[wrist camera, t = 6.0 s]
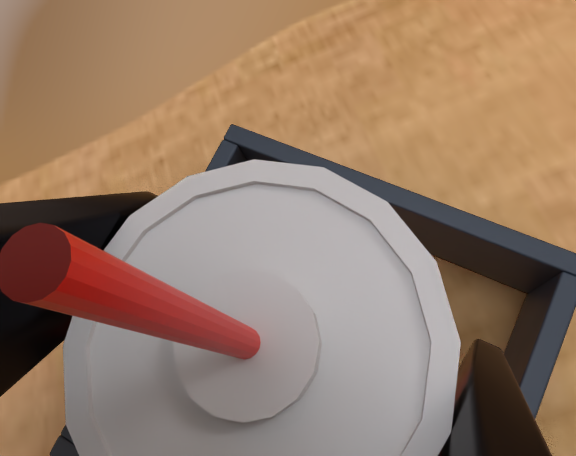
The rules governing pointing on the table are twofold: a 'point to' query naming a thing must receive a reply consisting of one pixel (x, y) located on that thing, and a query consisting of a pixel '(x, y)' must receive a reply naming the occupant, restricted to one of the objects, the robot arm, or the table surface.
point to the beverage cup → (248, 321)
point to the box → (451, 260)
